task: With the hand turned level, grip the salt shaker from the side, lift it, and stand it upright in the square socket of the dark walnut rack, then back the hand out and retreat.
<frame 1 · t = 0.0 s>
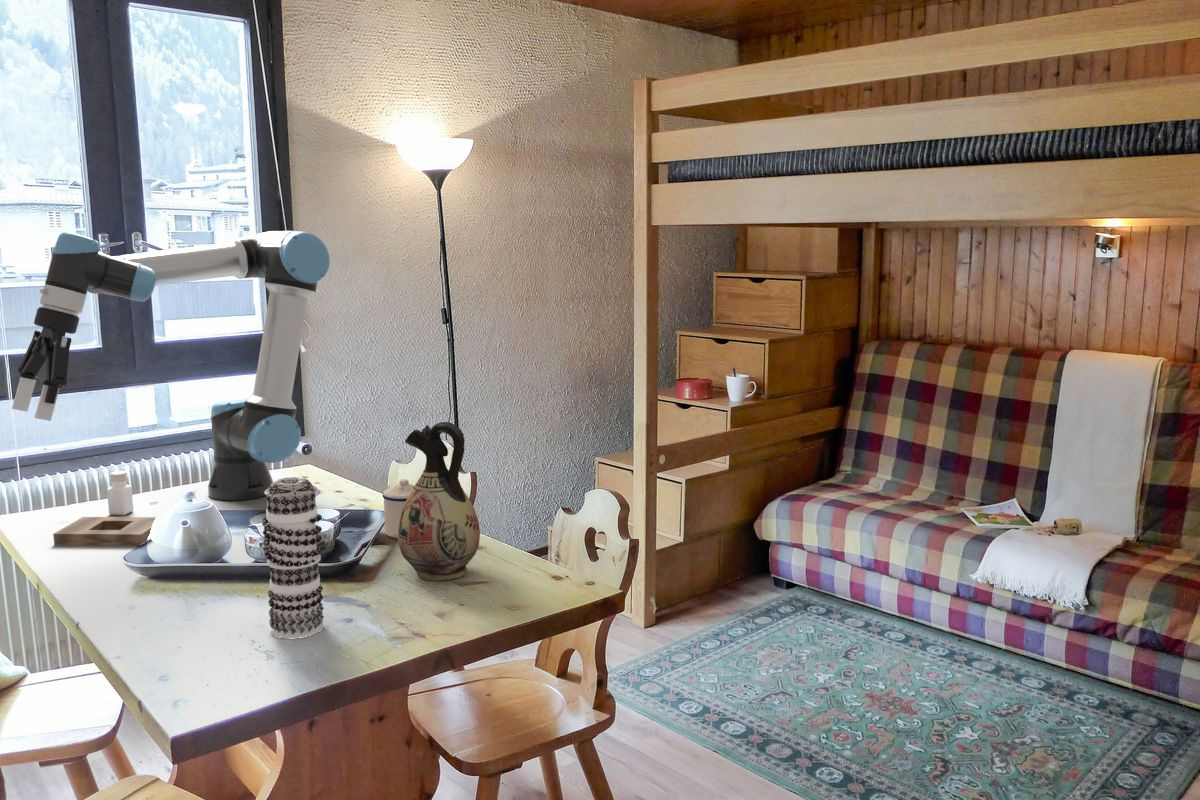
hand: (30, 414, 195), 28 cm above the table, tool tilted 20°, fingers open, 13 cm apart
ceramic jug: (443, 575, 188), on the table
walnut rack: (112, 536, 209), on the table
decorative candle: (297, 630, 162), on the table
salt shaker: (121, 514, 226), on the table
teacup with lid: (401, 531, 214), on the table
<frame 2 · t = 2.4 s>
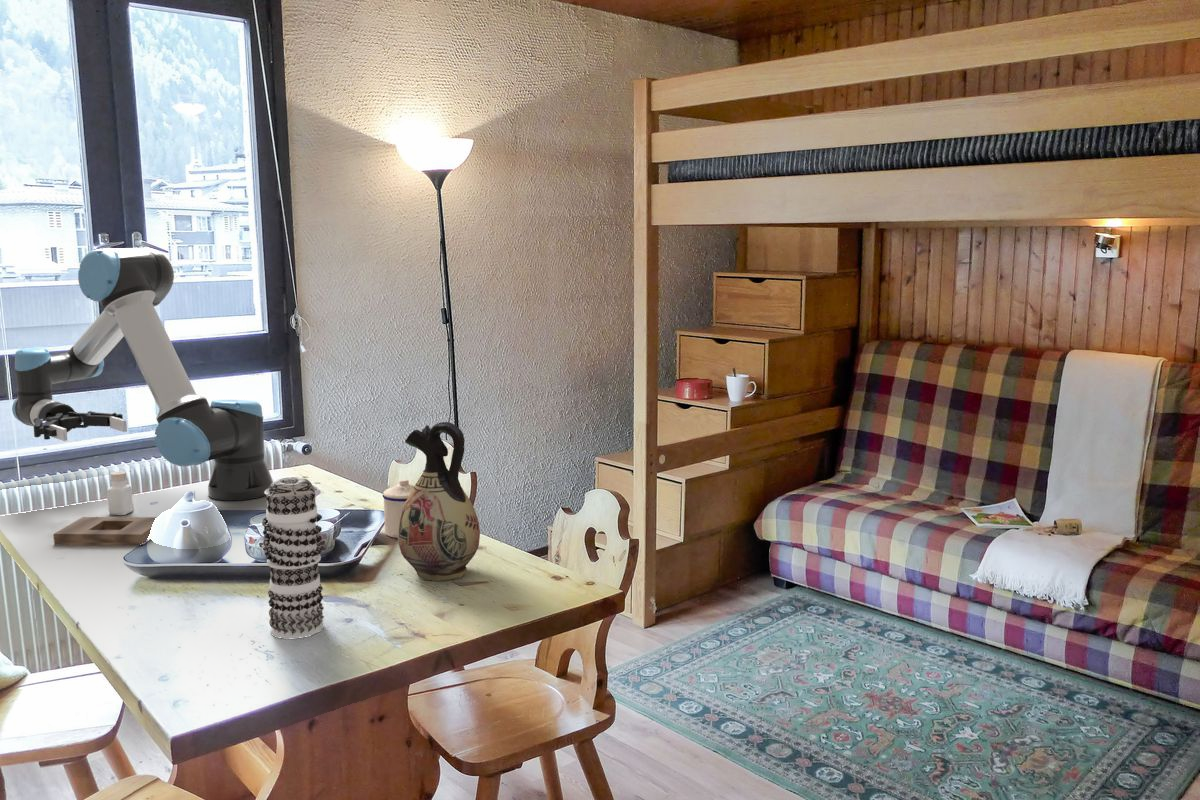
hand: (95, 430, 228), 18 cm above the table, tool horizontal, fingers open, 13 cm apart
nothing on the table moved.
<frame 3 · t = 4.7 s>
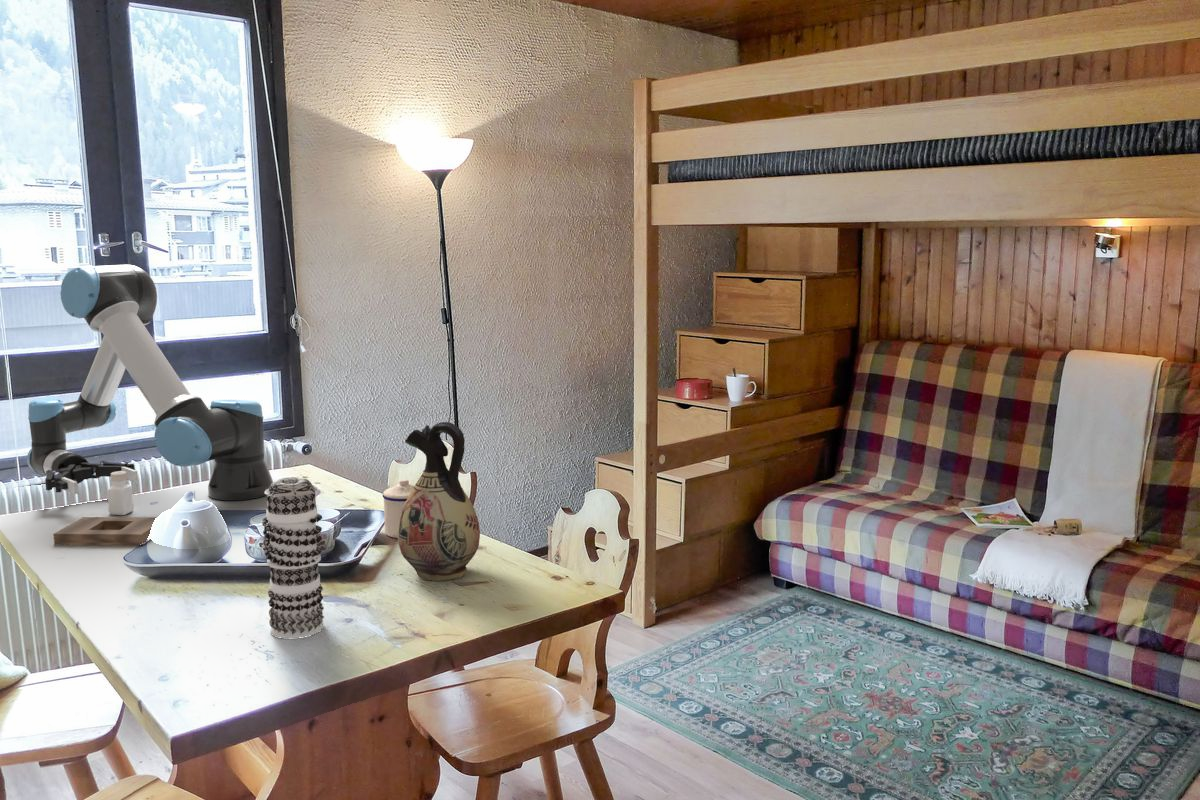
hand: (106, 482, 228), 6 cm above the table, tool horizontal, fingers open, 13 cm apart
nothing on the table moved.
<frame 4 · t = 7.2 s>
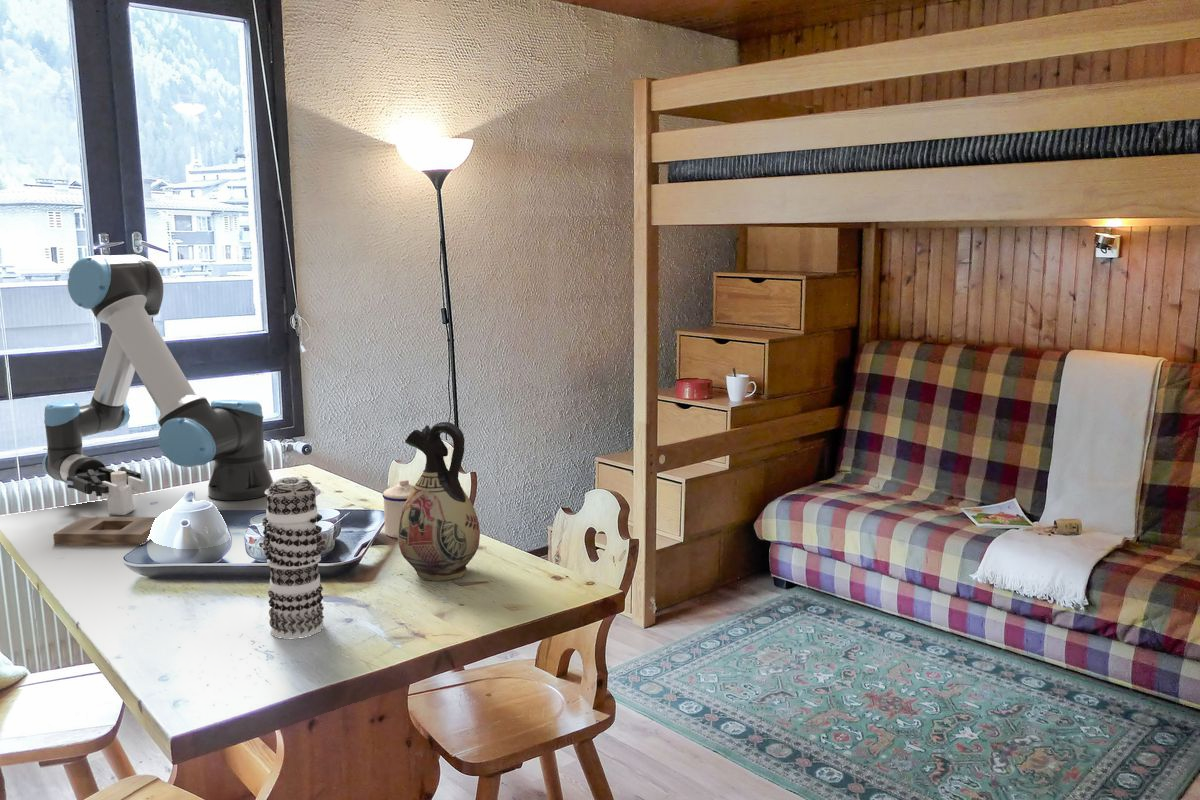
hand: (130, 489, 221), 7 cm above the table, tool horizontal, fingers closed on salt shaker, 5 cm apart
salt shaker: (121, 514, 226), on the table, touching gripper
everything else where it was.
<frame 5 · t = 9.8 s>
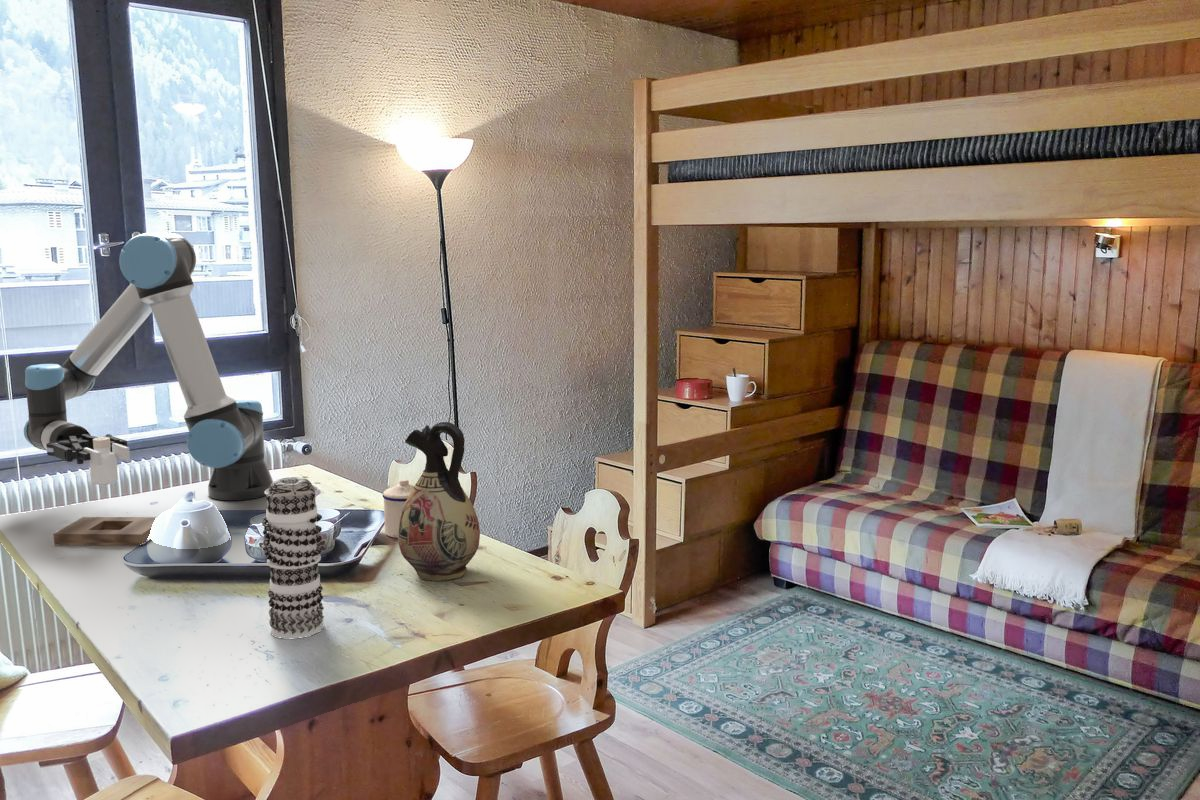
hand: (113, 456, 203), 18 cm above the table, tool horizontal, fingers closed on salt shaker, 5 cm apart
salt shaker: (104, 483, 208), point 11 cm above the table, touching gripper
everything else where it was.
when the fingers open (8 cm above the table, at t = 12.5 s): salt shaker drops 1 cm, resting on walnut rack.
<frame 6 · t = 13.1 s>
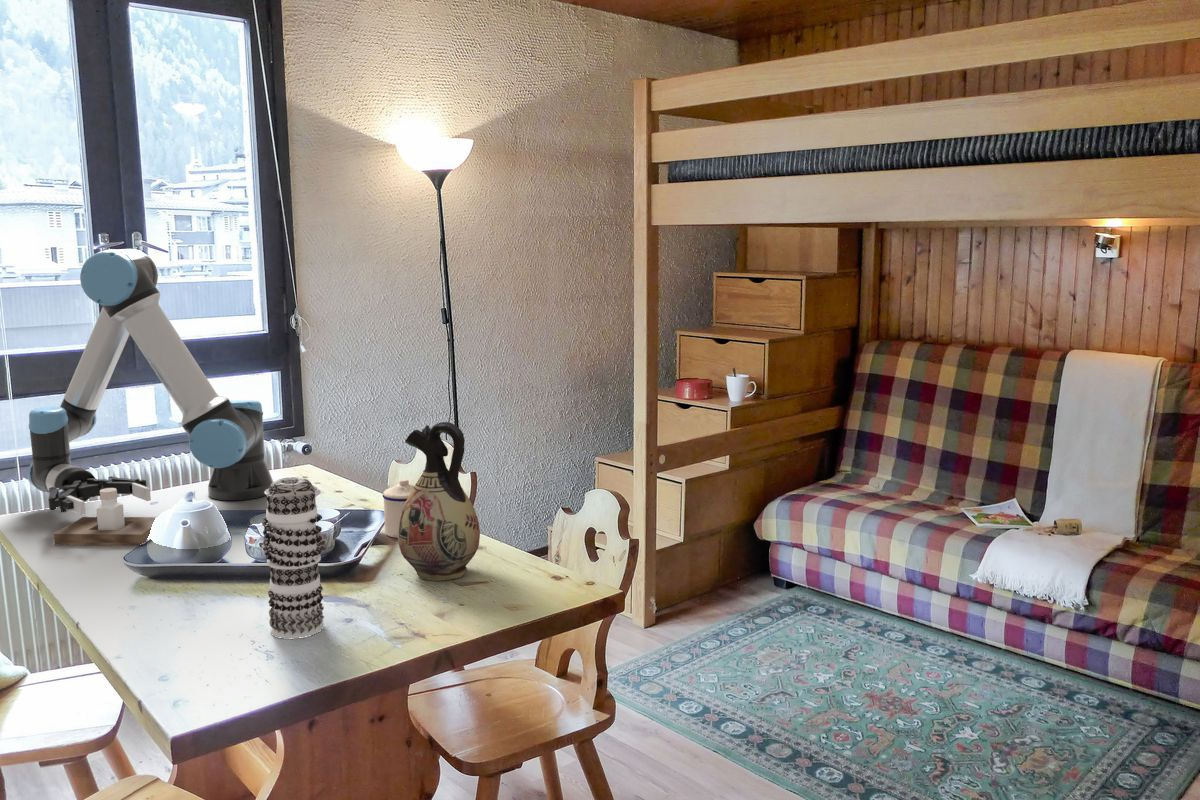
hand: (116, 501, 205), 8 cm above the table, tool horizontal, fingers open, 13 cm apart
salt shaker: (112, 534, 209), resting on walnut rack
everything else where it was.
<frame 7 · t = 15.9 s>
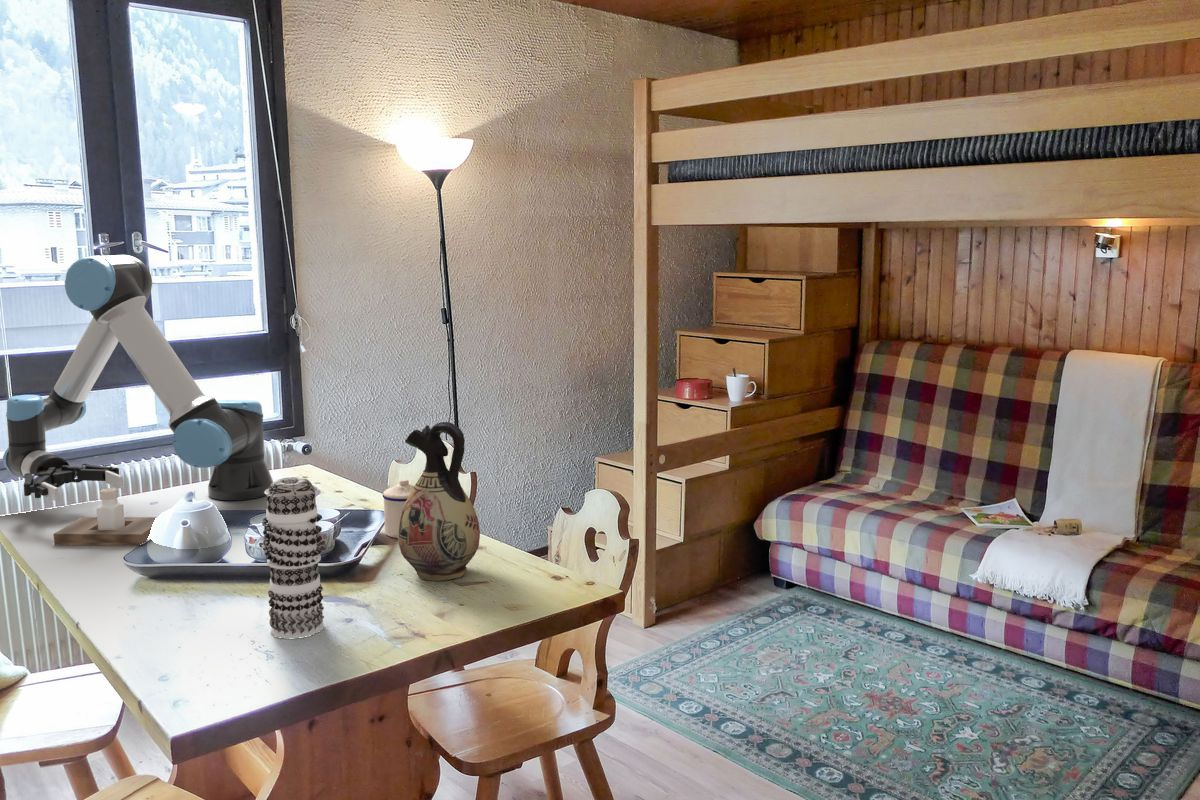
hand: (89, 488, 214), 9 cm above the table, tool horizontal, fingers open, 13 cm apart
nothing on the table moved.
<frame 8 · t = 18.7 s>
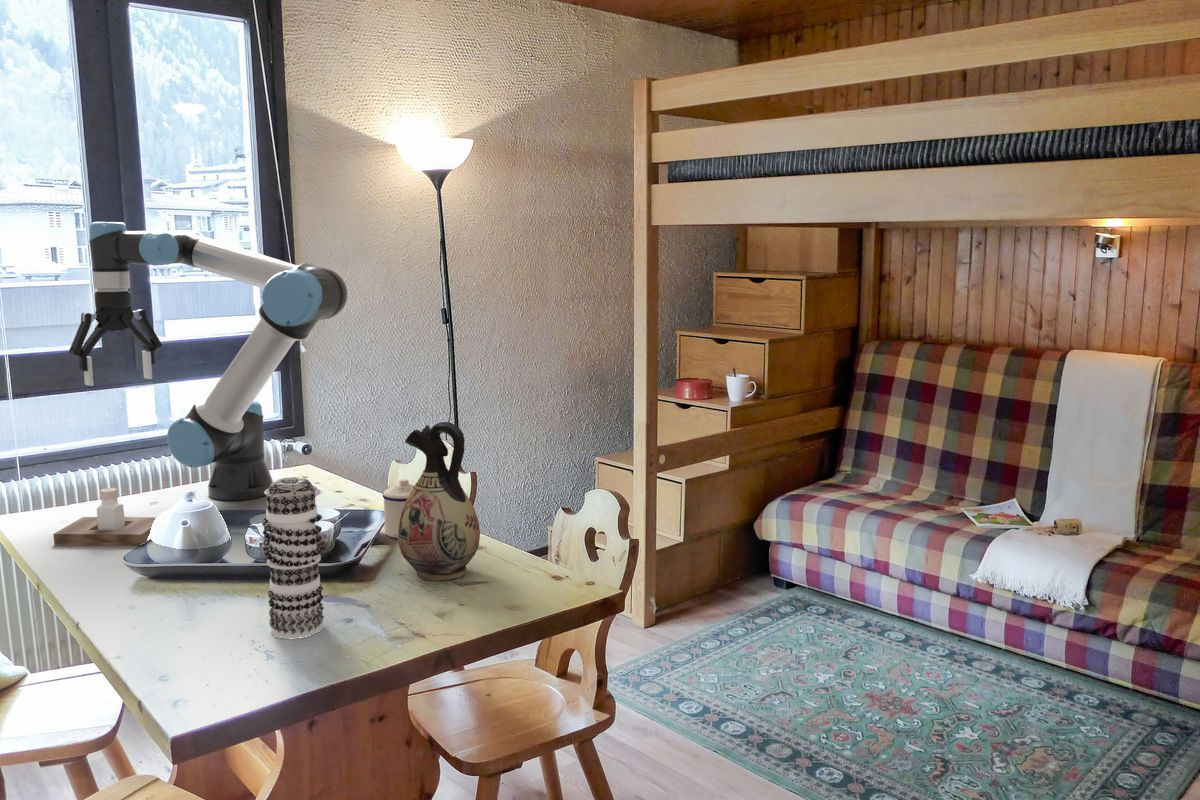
hand: (119, 381, 230), 29 cm above the table, tool pointing down, fingers open, 13 cm apart
nothing on the table moved.
at the end: salt shaker 0.1 cm off-centre on the walnut rack, point 0.4 cm above the walnut rack's base; salt shaker tilted 0°; the gripper is holding nothing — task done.
